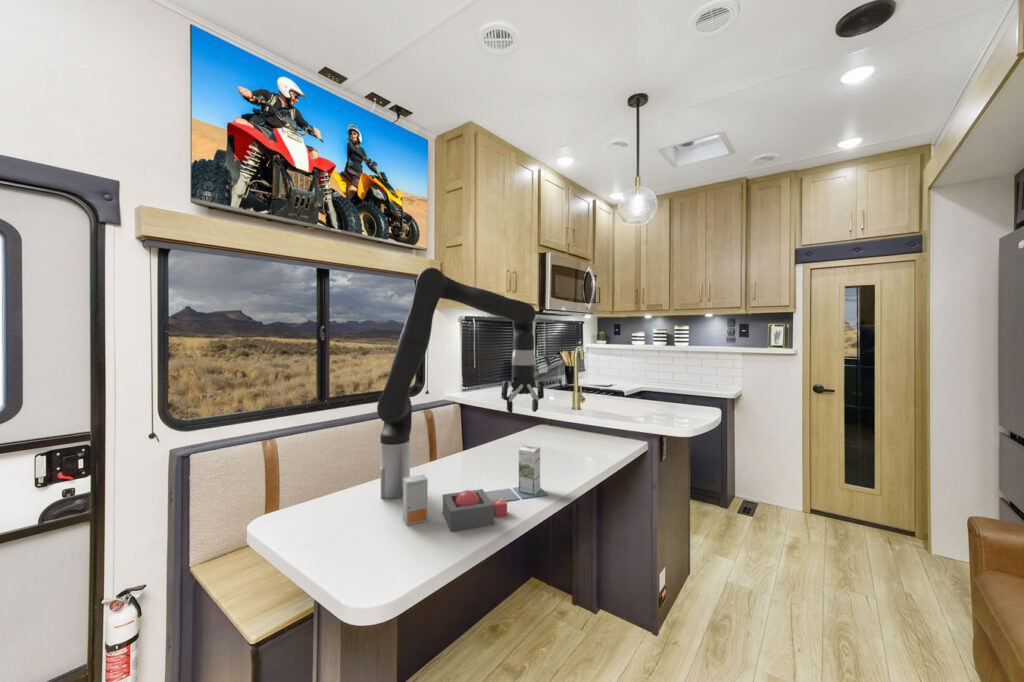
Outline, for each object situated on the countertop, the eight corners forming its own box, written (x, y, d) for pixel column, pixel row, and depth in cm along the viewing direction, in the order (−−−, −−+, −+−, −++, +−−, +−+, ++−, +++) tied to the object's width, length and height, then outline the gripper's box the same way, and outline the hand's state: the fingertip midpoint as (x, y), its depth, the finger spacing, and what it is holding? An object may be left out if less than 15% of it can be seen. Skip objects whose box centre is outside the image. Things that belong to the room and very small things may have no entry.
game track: (458, 508, 121) (458, 507, 121) (452, 497, 130) (452, 496, 130) (548, 495, 131) (548, 494, 131) (537, 485, 140) (537, 484, 140)
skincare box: (406, 526, 110) (406, 482, 110) (402, 519, 114) (402, 477, 114) (428, 521, 113) (427, 478, 113) (424, 515, 117) (423, 474, 117)
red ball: (457, 523, 110) (457, 497, 110) (452, 512, 117) (452, 488, 117) (482, 519, 112) (482, 494, 112) (476, 508, 119) (476, 485, 119)
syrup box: (540, 489, 135) (540, 446, 135) (534, 495, 130) (534, 450, 130) (525, 486, 138) (525, 444, 137) (518, 492, 132) (518, 448, 132)
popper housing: (450, 532, 107) (450, 511, 107) (442, 513, 118) (442, 494, 118) (512, 521, 113) (512, 502, 113) (498, 504, 124) (498, 486, 124)
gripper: (506, 364, 129) (505, 415, 129) (547, 364, 134) (546, 413, 134) (499, 362, 136) (498, 411, 136) (538, 362, 141) (537, 409, 141)
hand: (522, 412), depth 135 cm, fingers open, 8 cm apart
